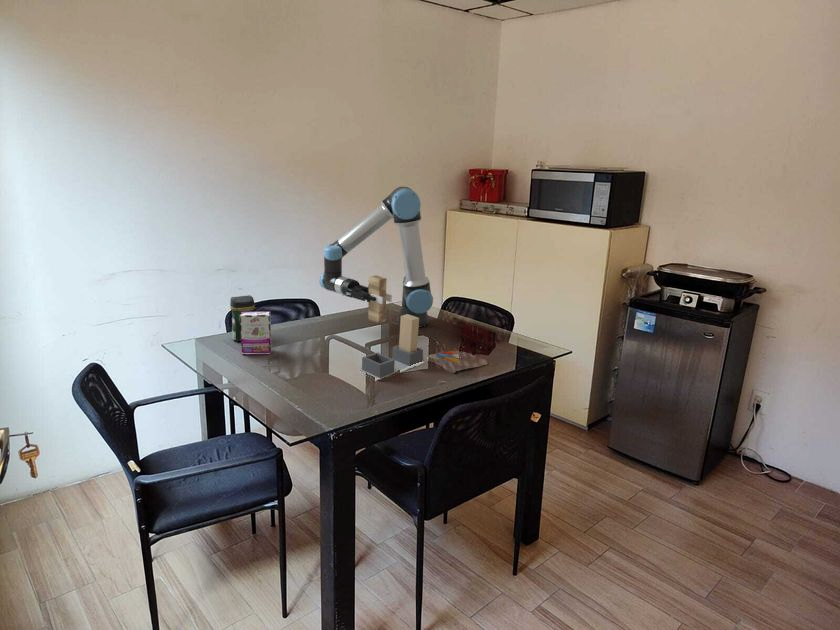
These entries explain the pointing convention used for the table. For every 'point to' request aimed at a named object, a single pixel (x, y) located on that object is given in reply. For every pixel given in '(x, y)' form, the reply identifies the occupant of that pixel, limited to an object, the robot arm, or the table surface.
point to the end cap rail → (396, 351)
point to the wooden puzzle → (446, 356)
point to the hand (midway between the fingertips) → (386, 299)
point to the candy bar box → (255, 332)
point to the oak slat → (376, 309)
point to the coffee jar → (237, 307)
